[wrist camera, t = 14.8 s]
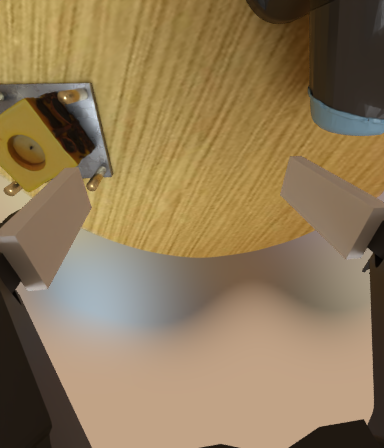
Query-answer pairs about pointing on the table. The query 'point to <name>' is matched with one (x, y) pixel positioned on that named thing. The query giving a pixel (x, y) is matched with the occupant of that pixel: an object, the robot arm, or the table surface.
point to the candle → (40, 140)
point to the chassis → (83, 112)
